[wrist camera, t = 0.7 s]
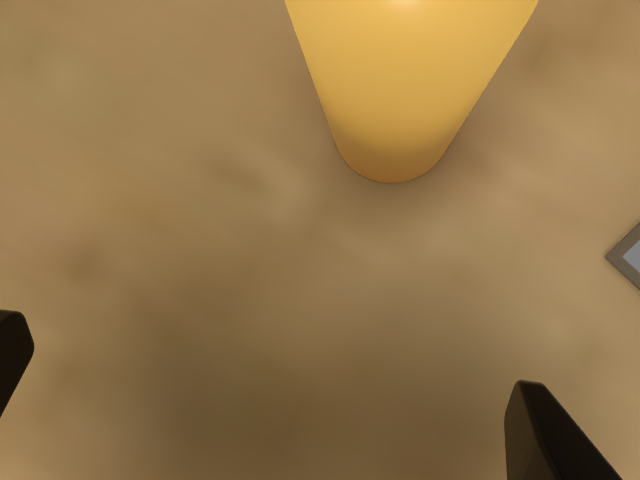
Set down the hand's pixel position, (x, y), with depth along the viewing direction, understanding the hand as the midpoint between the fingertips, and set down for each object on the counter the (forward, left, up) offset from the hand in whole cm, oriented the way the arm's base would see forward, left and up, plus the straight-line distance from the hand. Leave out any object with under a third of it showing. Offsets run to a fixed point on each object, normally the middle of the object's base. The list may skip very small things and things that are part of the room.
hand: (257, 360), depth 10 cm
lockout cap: (+7, -3, -13) cm, 15 cm away
